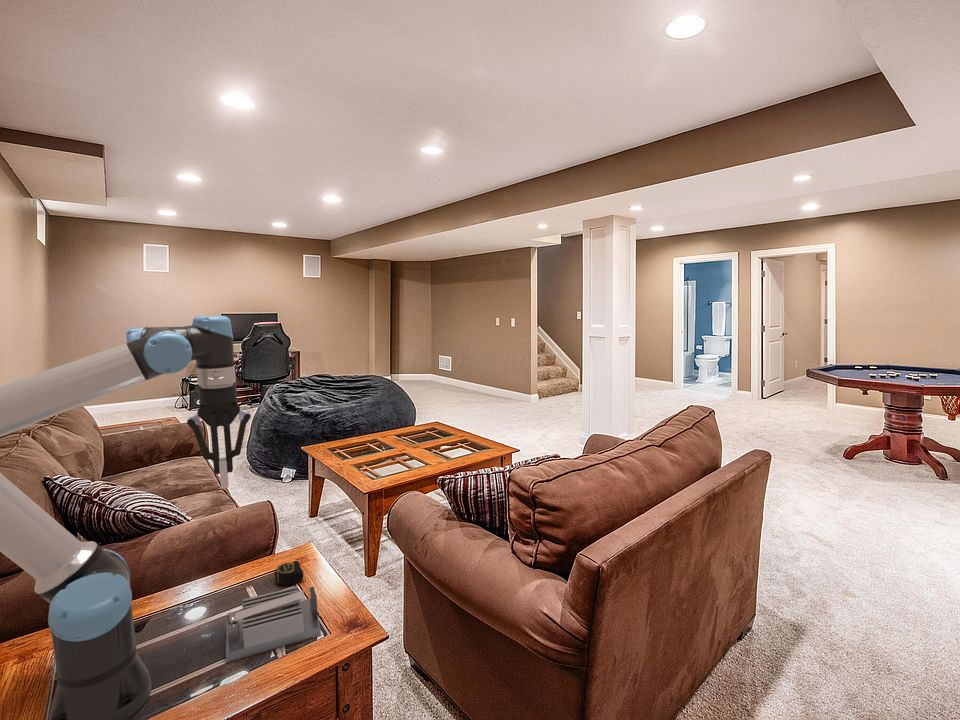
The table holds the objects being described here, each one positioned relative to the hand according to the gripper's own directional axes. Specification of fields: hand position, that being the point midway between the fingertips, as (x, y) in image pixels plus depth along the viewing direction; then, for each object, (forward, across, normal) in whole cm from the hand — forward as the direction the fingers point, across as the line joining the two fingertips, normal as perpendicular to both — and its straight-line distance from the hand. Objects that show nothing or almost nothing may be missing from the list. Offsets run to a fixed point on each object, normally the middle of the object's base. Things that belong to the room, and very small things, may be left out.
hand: (224, 486), depth 114 cm
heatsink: (+32, +8, -10) cm, 35 cm away
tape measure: (+33, +14, +11) cm, 37 cm away
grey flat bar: (+27, +7, -10) cm, 30 cm away
